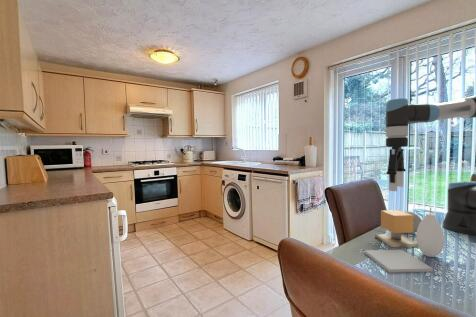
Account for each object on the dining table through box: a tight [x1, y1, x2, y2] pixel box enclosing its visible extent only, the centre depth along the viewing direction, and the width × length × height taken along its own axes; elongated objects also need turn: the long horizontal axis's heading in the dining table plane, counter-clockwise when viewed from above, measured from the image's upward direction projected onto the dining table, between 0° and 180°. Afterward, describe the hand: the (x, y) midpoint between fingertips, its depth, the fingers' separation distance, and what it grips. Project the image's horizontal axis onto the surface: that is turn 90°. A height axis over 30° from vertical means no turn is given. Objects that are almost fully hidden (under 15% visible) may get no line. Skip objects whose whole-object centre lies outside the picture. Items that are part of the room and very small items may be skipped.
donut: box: [403, 210, 422, 234], centre depth 110 cm, size 10×4×10 cm, turn 47°
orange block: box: [380, 209, 414, 234], centre depth 99 cm, size 8×8×7 cm
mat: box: [364, 249, 434, 273], centre depth 82 cm, size 14×14×1 cm
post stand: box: [374, 231, 419, 248], centre depth 99 cm, size 11×11×11 cm
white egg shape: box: [415, 206, 445, 258], centre depth 86 cm, size 8×8×18 cm
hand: (396, 188), depth 98 cm, fingers open, 13 cm apart
